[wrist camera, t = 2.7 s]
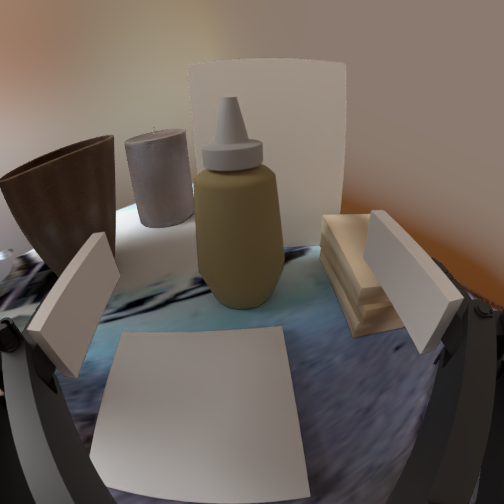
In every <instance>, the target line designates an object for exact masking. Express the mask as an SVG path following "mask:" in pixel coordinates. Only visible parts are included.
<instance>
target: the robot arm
mask: <svg viewBox="0 0 504 504" xmlns="http://www.w3.org/2000/svg"><path fill="white" fill-rule="evenodd" d="M363 258H364V260H365V261H366V263H367V264H368V266H369V267H370V269H371V271H372V272H373V274H374V275H375V277H376V278H377V280H378V282H379V283H380V285H381V286H382V288H383V290H384V291H385V293H386V295H387V296H388V298H389V300H390V301H391V303H392V305H393V306H394V308H395V310H396V311H397V313H398V315H399V317H400V318H401V320H402V322H403V324H404V326H405V327H406V329H407V331H408V333H409V335H410V336H411V338H412V340H413V342H414V344H415V346H416V348H417V350H418V352H419V353H420V355H421V354H424V353H427V352H430V351H433V350H435V349H436V347H437V346H438V344H439V342H440V341H441V340H442V342H443V344H444V347H443V349H442V351H441V352H440V354H439V355H438V357H437V358H436V359H435V361H434V363H433V364H435V365H436V363H437V362H438V360H440V361H439V365H438V370H437V374H436V378H435V382H434V386H433V390H432V394H431V397H430V401H429V404H428V408H427V411H426V414H425V417H424V420H423V423H422V426H421V429H420V431H419V434H418V437H417V439H416V442H415V445H414V447H413V450H412V452H411V454H410V457H409V459H408V461H407V463H406V466H405V468H404V470H403V472H402V474H401V476H400V478H399V480H398V482H397V484H396V486H395V488H394V490H393V492H392V494H391V496H390V497H389V499H388V501H387V503H386V504H469V501H470V498H471V495H472V493H473V490H474V487H475V484H476V481H477V478H478V475H479V472H480V468H481V473H480V481H479V488H478V494H477V499H476V504H504V309H503V311H493V309H492V308H491V306H489V305H488V304H487V303H486V302H484V301H482V300H478V299H475V300H472V299H471V298H470V297H469V295H468V294H467V293H466V291H465V290H464V289H463V288H462V287H461V285H460V284H459V283H458V282H457V281H456V279H454V277H453V276H452V275H451V274H450V273H449V272H448V270H447V269H446V268H445V267H444V266H443V264H441V263H440V262H438V261H437V260H436V259H434V258H430V257H429V256H428V254H427V253H426V252H425V251H424V250H423V249H422V248H421V247H420V246H419V245H418V244H417V243H416V242H415V241H414V239H412V237H411V236H410V235H409V234H408V233H407V232H406V231H405V230H404V229H403V228H402V227H401V226H400V225H399V224H398V223H397V222H396V221H395V220H394V219H393V218H391V216H390V215H388V214H387V213H386V212H385V211H384V210H371V213H370V219H369V226H368V232H367V238H366V243H365V249H364V254H363ZM119 278H120V273H119V271H118V268H117V265H116V263H115V260H114V257H113V254H112V252H111V249H110V246H109V243H108V240H107V237H106V234H105V232H100V233H93V234H92V235H91V236H90V237H89V239H88V240H87V241H86V242H85V244H84V245H83V246H82V248H81V249H80V250H79V251H78V253H77V254H76V255H75V257H74V258H73V259H72V261H71V262H70V263H69V265H68V266H67V268H66V269H65V270H64V272H63V273H62V275H61V276H60V277H59V279H58V280H57V282H56V283H55V285H54V286H53V288H52V289H51V290H50V291H49V292H48V293H47V294H46V295H45V296H44V297H43V299H42V301H41V302H40V305H38V307H37V308H36V311H35V312H34V313H33V315H32V317H31V318H30V320H29V322H28V323H27V325H26V327H25V329H24V330H23V332H22V333H21V332H20V331H19V329H18V328H17V326H16V325H15V324H14V322H13V321H12V319H10V318H3V319H1V320H0V390H1V391H2V394H1V396H0V504H117V503H116V501H115V500H114V498H113V497H112V495H111V494H110V492H109V491H108V489H107V487H106V486H105V484H104V483H103V481H102V479H101V477H100V476H99V474H98V472H97V470H96V469H95V467H94V465H93V463H92V461H91V459H90V457H89V455H88V453H87V451H86V449H85V447H84V445H83V443H82V441H81V439H80V437H79V434H78V432H77V430H76V427H75V425H74V423H73V420H72V418H71V415H70V413H69V410H68V407H67V405H66V402H65V399H64V396H63V393H62V390H61V387H60V384H59V381H58V379H57V377H56V375H55V374H54V371H55V369H56V368H57V369H58V370H59V371H60V373H61V374H62V375H63V376H66V377H71V378H78V375H79V372H80V369H81V367H82V364H83V361H84V358H85V356H86V353H87V351H88V348H89V346H90V343H91V341H92V338H93V336H94V333H95V331H96V328H97V326H98V324H99V321H100V319H101V317H102V315H103V312H104V310H105V308H106V306H107V303H108V301H109V299H110V297H111V295H112V293H113V291H114V289H115V287H116V284H117V282H118V280H119Z"/></svg>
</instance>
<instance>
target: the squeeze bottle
mask: <svg viewBox="0 0 504 504" xmlns="http://www.w3.org/2000/svg"><path fill="white" fill-rule="evenodd" d="M202 156H203V165H204V168H206V169H204V170H202V171H201V172H200V173H199V174H198V175H197V176H196V177H195V178H194V202H195V223H196V240H197V255H198V268H199V273H200V275H201V276H202V278H203V279H204V281H205V282H206V284H207V285H208V287H209V288H210V290H211V291H212V293H213V294H214V296H215V297H216V298H217V299H218V301H219V302H220V303H221V304H223V305H225V306H227V307H230V308H234V309H248V308H254V307H257V306H259V305H261V304H263V303H265V302H266V301H267V300H268V298H269V297H270V296H271V295H272V293H273V291H274V288H275V286H276V284H277V282H278V279H279V277H280V275H281V273H282V270H283V267H284V261H285V255H284V245H283V235H282V226H281V217H280V208H279V199H278V190H277V182H276V174H275V173H274V172H273V171H272V170H271V169H269V168H268V167H267V166H265V165H262V162H263V143H262V142H261V141H259V140H254V139H249V138H248V134H247V131H246V127H245V124H244V120H243V117H242V114H241V110H240V107H239V103H238V100H237V97H226V98H220V105H219V111H218V118H217V125H216V133H215V140H214V142H211V143H208V144H205V145H204V146H202Z"/></svg>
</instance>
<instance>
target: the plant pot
mask: <svg viewBox="0 0 504 504" xmlns="http://www.w3.org/2000/svg"><path fill="white" fill-rule="evenodd" d="M0 188H1V191H2V193H3V195H4V198H5V200H6V202H7V204H8V206H9V208H10V211H11V213H12V215H13V217H14V218H15V220H16V222H17V223H18V225H19V227H20V229H21V230H22V232H23V233H24V235H25V236H26V238H27V240H28V241H29V242H30V244H31V245H32V246H33V248H34V249H35V251H36V252H37V253H38V255H39V256H40V257H41V258H42V259H43V261H44V262H45V263H46V264H47V265H48V266H49V267H50V269H51V270H52V271H53V272H54V273H55V274H56V275H57V276H58V277H60V276H61V275H62V273H63V272H64V270H65V269H66V268H67V266H68V265H69V263H70V262H71V261H72V259H73V258H74V257H75V255H76V254H77V253H78V251H79V250H80V249H81V248H82V246H83V245H84V244H85V242H86V241H87V240H88V239H89V237H90V236H91V235H92V234H93V233H100V232H105V234H106V237H107V240H108V243H109V246H110V249H111V252H112V254H113V257H114V260H115V236H116V200H115V199H116V197H115V160H114V136H113V135H106V136H100V137H96V138H93V139H88V140H85V141H81V142H78V143H75V144H72V145H69V146H66V147H63V148H60V149H58V150H55V151H52V152H50V153H48V154H45V155H43V156H40V157H38V158H36V159H34V160H32V161H30V162H28V163H26V164H24V165H22V166H20V167H18V168H16V169H14V170H12V171H11V172H9V173H7V174H6V175H4V176H3V177H2V178H0Z"/></svg>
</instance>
